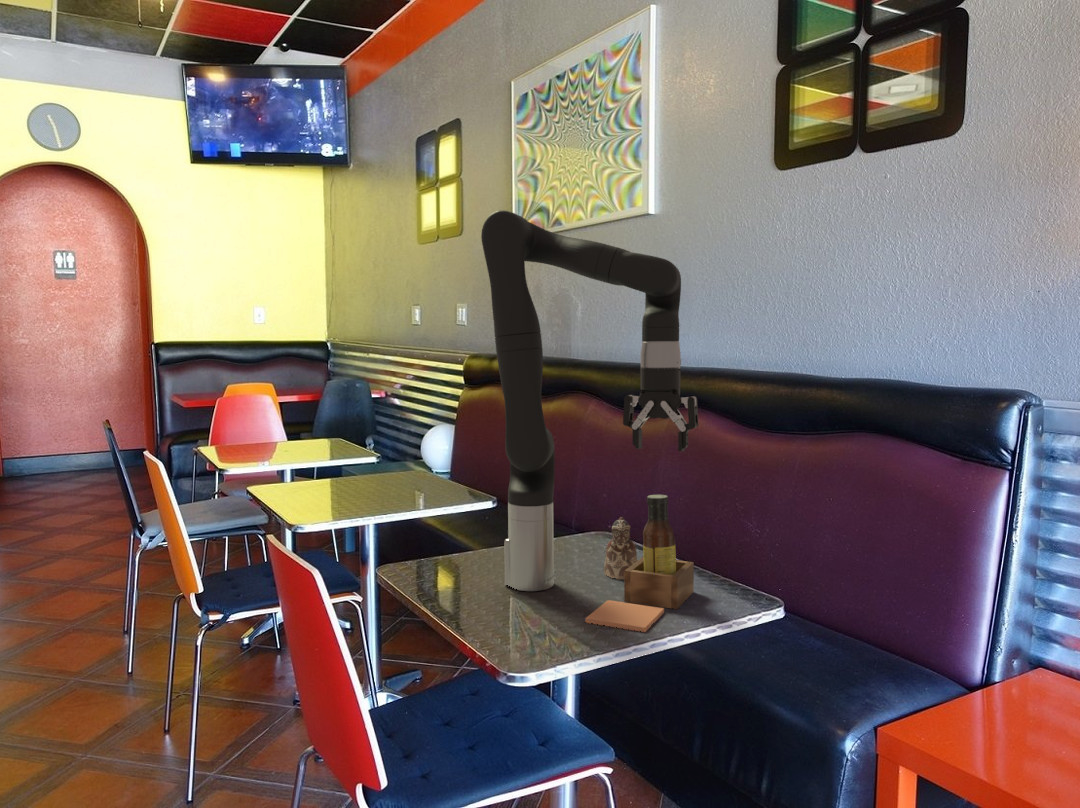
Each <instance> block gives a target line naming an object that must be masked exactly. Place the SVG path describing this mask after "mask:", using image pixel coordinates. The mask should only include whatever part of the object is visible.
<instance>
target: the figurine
mask: <svg viewBox="0 0 1080 808" xmlns="http://www.w3.org/2000/svg"><path fill="white" fill-rule="evenodd" d="M611 535H612V536H611V537H612V538H611V539H610V540H609V542H608V543H607V544H606V550H605V560H604V566H603V571H604V573H603V574H604V576H606V575H607V576H609V577H608V578H610V577H611V579H612V578H616V579H615V580H621V579H622V580H624V571H625V570H626V569H627V568H629V567H630V566H631V565H633V564H634V563H635V562H637V561H638V553H637V547H636V545H635V543H634V541H633V540H632V539H630V538H631V525H630V524H629V523H628V521H627V520H625V517H622V516H620V517H619V518H618V519H616V520H615V521H614V522H613V524H612V526H611ZM607 576H606V577H607Z"/></svg>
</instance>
